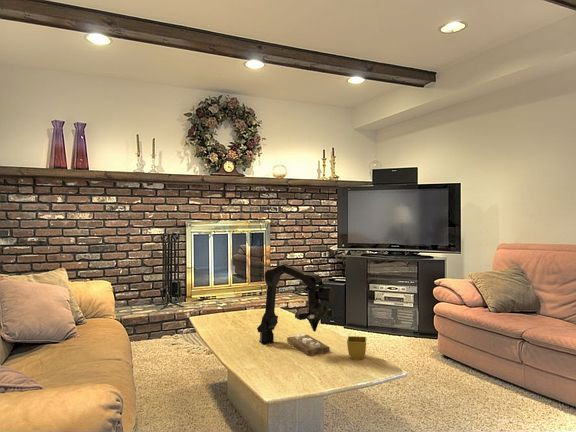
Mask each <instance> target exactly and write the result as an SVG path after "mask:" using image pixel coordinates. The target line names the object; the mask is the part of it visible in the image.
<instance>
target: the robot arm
mask: <svg viewBox="0 0 576 432" xmlns="http://www.w3.org/2000/svg"><path fill="white" fill-rule="evenodd" d="M284 274H286V275H289V276H291V277H293V278H295V279H298V280H300V281H301V282H302V283H303V284H304V285H306V287H305V288H303V291H307V301H306V304H307V307H308V308H307V309H306V312H305V311H302V310H301V311H296V312H295V313H294V318H295V319H297V320H298V321H302V320H303V321H304V320H306V319H307V321H308V322H309V324H310V327H311V329H312V332H314V333H315V332H316V331H317V328H318V325H319V324H320V323H319V322H320V321H321V320H323V318H325V317H326V316H327V317H333V316H334V311H333V310H332V309H330V308H329V306H322V303H321V302H328V303H332V302H334V301H335V292H334V290H333V288H332V287H326V284H324V282H323V280H322V279H321V276H320V274H317V273H312V272H306V271H303V270H300V269H298V268H296V267H294V266H292V265H289V264H287V263H283V264H282V263H281V264H280V265H278V266H276V267H273V268H272V269H268V270H266V271H265V272H264V282H265V284H266V297H265V299H266V300H265V301H266V302H265V312H264V314H263V316H262V317H261V320H260V321H261V322H260V325H259V326H257V328H256V330H257V333H259V340H258V343H260V344H262V345H268V344H274V343H275V339H274V338H275V337H274V332H273V331H275V327H276V326H277V324H279V321H278V319H279V318H278V317H279V316H278V315H277V314H276V313H275V308H276V298H277V286H278V284H279V283H280V279H281V276H282V275H284ZM320 301H321V302H320Z"/></svg>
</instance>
